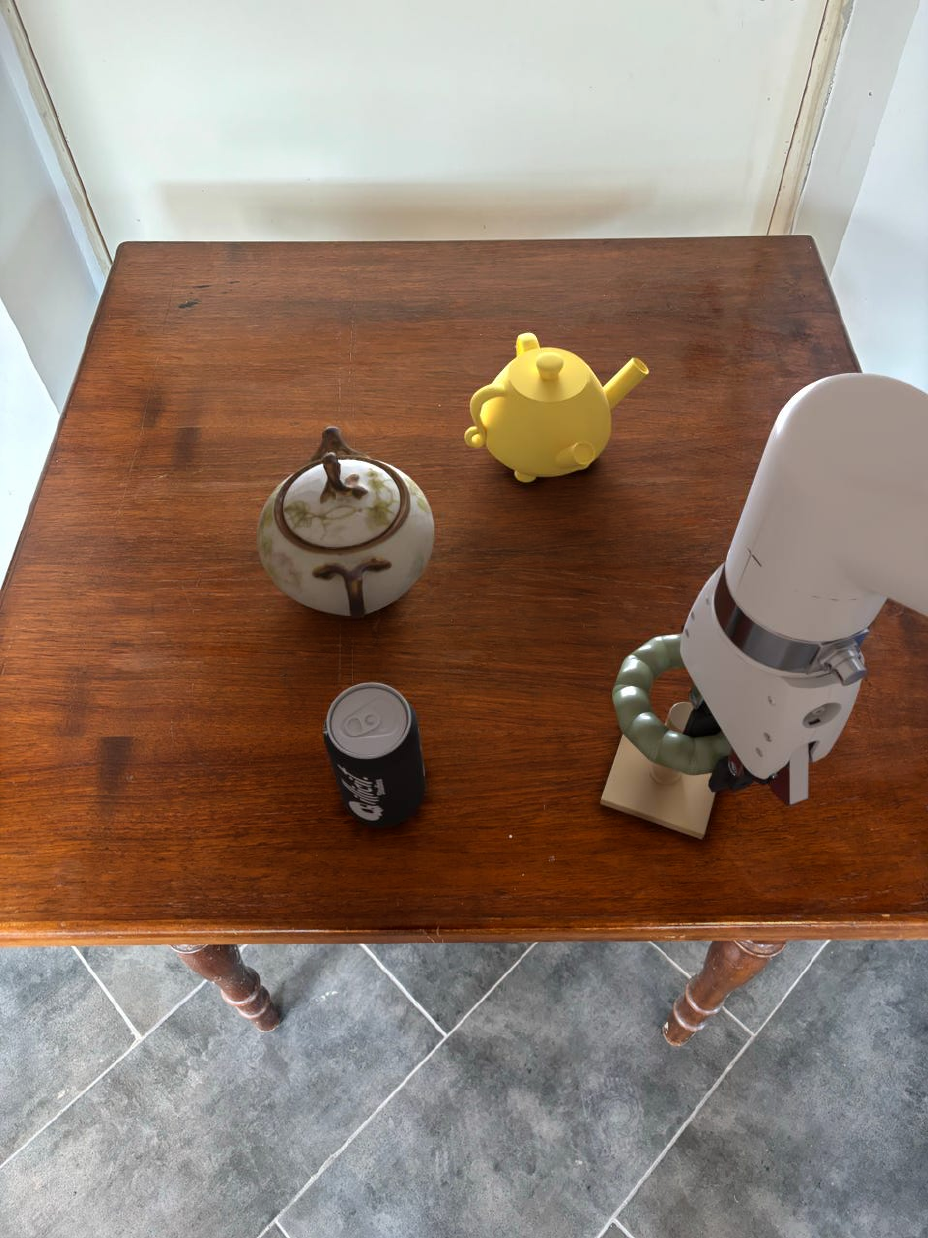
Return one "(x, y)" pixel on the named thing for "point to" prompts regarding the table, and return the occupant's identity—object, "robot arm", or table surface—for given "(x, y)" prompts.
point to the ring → (646, 726)
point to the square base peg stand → (659, 786)
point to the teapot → (547, 411)
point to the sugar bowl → (345, 531)
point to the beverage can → (376, 754)
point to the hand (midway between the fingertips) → (717, 757)
